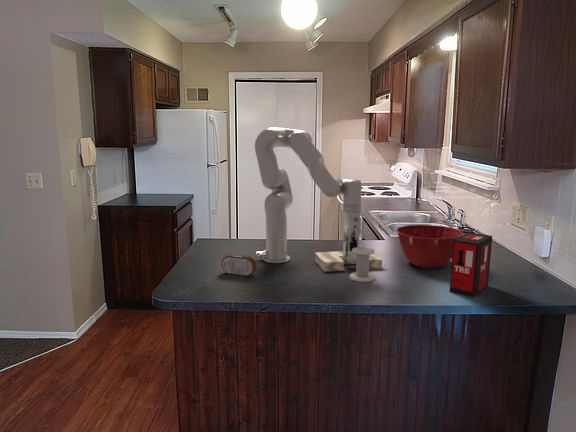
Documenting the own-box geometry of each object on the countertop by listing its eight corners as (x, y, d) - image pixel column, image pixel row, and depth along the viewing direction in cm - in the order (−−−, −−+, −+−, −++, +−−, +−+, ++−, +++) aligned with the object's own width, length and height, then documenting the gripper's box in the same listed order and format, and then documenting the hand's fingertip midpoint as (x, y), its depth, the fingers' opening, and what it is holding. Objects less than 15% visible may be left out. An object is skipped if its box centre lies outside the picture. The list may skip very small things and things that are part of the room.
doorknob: (354, 282, 179) (355, 253, 176) (346, 274, 188) (347, 247, 186) (378, 281, 180) (379, 252, 178) (369, 273, 190) (370, 246, 188)
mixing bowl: (383, 264, 204) (384, 230, 201) (413, 252, 224) (415, 221, 221) (443, 278, 185) (446, 241, 182) (470, 263, 205) (473, 230, 203)
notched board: (324, 271, 193) (324, 262, 192) (314, 260, 208) (314, 252, 207) (381, 268, 197) (382, 259, 197) (368, 258, 213) (368, 250, 212)
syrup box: (342, 257, 201) (343, 225, 198) (355, 256, 201) (356, 224, 199) (345, 260, 195) (346, 227, 193) (358, 260, 196) (359, 227, 193)
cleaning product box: (473, 297, 164) (478, 243, 160) (449, 291, 169) (453, 239, 166) (487, 285, 176) (492, 235, 172) (464, 280, 182) (468, 232, 178)
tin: (257, 275, 187) (256, 256, 185) (254, 278, 184) (253, 258, 182) (224, 271, 192) (223, 252, 190) (220, 274, 189) (220, 254, 187)
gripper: (367, 211, 186) (366, 253, 190) (353, 204, 203) (352, 243, 206) (350, 212, 185) (348, 254, 188) (337, 205, 202) (336, 244, 205)
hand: (350, 248), depth 197 cm, fingers closed on syrup box, 6 cm apart
